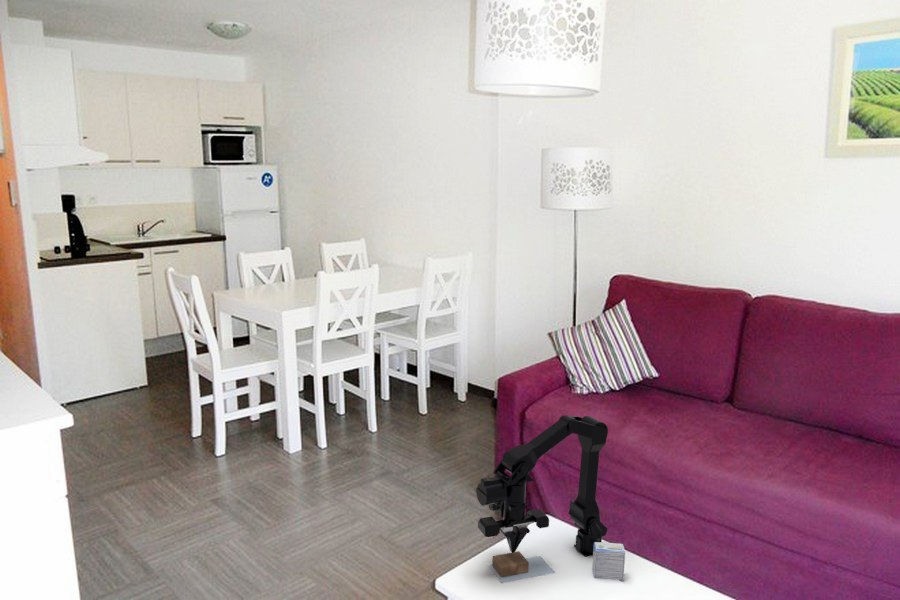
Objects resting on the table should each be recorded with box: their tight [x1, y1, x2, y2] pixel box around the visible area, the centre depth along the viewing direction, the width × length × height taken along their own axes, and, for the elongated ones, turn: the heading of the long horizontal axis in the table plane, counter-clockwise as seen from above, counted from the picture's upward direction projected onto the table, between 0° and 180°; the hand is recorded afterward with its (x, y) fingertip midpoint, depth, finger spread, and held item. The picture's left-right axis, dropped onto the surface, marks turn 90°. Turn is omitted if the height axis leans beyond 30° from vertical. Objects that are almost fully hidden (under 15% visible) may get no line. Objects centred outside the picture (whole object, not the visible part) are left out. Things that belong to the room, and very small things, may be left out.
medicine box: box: [591, 541, 626, 582], centre depth 187 cm, size 8×4×9 cm, turn 84°
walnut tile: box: [491, 550, 529, 577], centre depth 189 cm, size 3×6×8 cm
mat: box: [487, 555, 556, 584], centre depth 189 cm, size 16×9×1 cm, turn 110°
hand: (512, 551), depth 188 cm, fingers closed
